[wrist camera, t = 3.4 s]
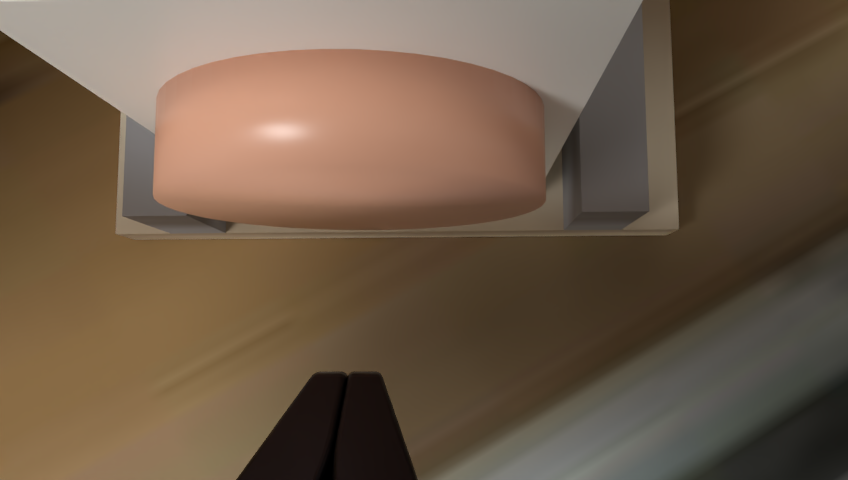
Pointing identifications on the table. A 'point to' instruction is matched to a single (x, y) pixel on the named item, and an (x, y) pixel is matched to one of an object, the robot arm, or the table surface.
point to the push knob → (338, 99)
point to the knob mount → (565, 182)
